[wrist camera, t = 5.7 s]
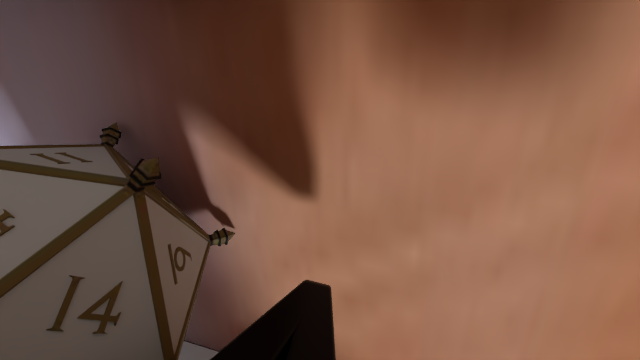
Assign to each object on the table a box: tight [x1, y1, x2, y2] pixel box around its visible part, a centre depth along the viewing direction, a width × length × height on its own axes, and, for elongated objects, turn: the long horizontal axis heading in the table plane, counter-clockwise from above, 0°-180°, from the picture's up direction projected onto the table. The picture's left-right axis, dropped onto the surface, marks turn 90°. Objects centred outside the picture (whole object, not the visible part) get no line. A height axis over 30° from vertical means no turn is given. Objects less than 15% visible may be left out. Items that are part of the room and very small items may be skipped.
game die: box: [0, 122, 235, 360], centre depth 9 cm, size 9×8×10 cm
